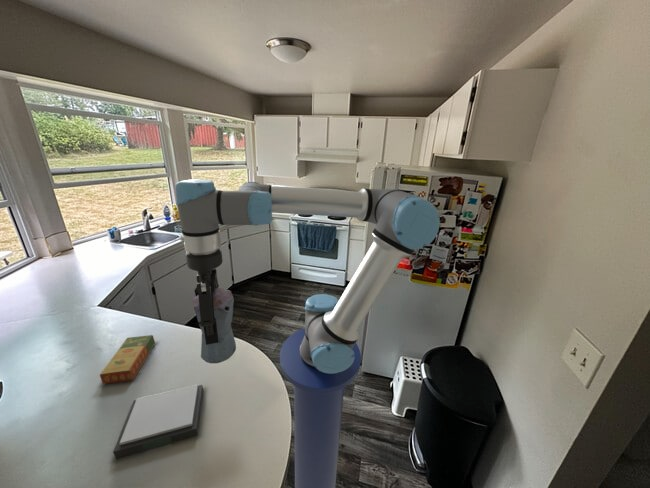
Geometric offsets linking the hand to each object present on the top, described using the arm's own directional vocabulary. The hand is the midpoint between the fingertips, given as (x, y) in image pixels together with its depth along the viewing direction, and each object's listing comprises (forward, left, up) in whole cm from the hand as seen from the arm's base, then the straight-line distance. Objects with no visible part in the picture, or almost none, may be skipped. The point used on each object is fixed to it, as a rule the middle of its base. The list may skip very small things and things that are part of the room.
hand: (214, 328), depth 65 cm
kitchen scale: (+14, +4, -24) cm, 28 cm away
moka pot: (0, 0, -8) cm, 8 cm away
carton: (+29, -21, -24) cm, 43 cm away
